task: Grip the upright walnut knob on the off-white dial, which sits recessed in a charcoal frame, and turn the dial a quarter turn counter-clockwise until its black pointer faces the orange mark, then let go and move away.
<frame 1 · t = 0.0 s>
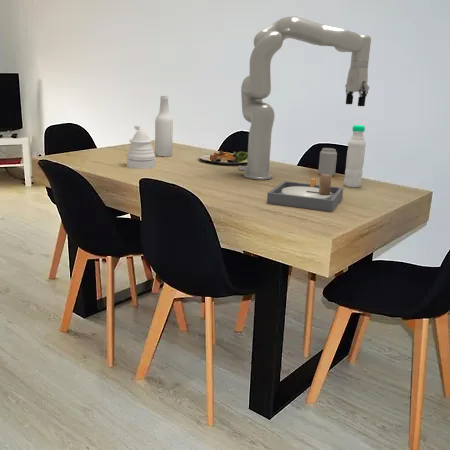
hand: (354, 105, 244), 31 cm above the table, tool pointing down, fingers open, 9 cm apart
alcohol: (163, 156, 280), on the table
water bottle: (352, 186, 229), on the table
dial frame: (305, 200, 201), on the table
can: (326, 175, 250), on the table
plate of food: (227, 161, 273), on the table
honey pot: (141, 166, 251), on the table
dial: (307, 184, 200), point 6 cm above the table, hinge at 0.0°
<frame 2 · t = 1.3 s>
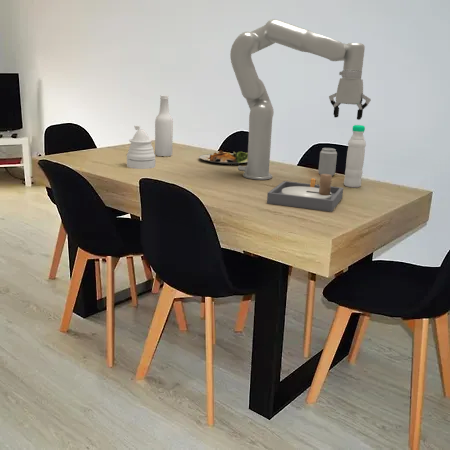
hand: (347, 118, 227), 27 cm above the table, tool pointing down, fingers open, 9 cm apart
nothing on the table moved.
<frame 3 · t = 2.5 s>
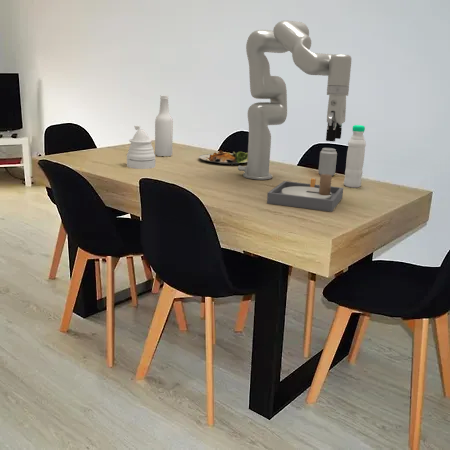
hand: (333, 139, 199), 22 cm above the table, tool pointing down, fingers open, 9 cm apart
nothing on the table moved.
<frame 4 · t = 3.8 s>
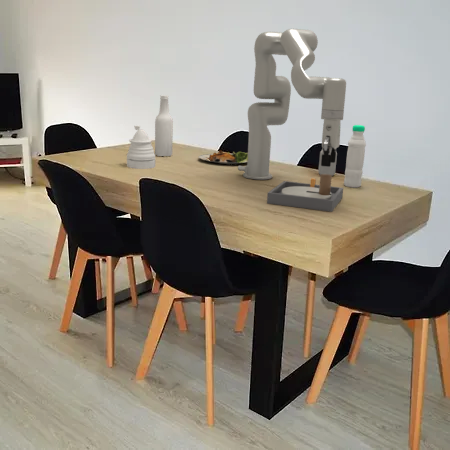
hand: (328, 164, 195), 14 cm above the table, tool pointing down, fingers open, 9 cm apart
nothing on the table moved.
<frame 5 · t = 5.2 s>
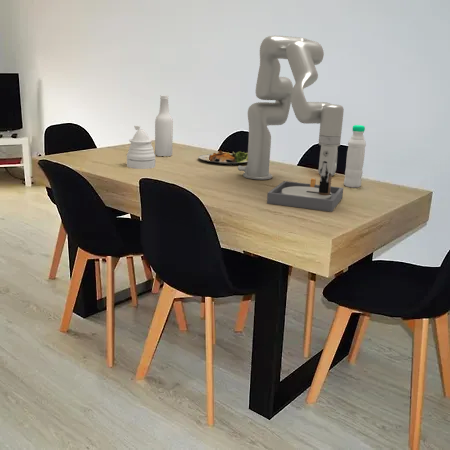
hand: (324, 190, 198), 4 cm above the table, tool pointing down, fingers closed on dial, 4 cm apart
dial: (307, 184, 200), point 6 cm above the table, hinge at 0.0°, touching gripper
everything else where it was.
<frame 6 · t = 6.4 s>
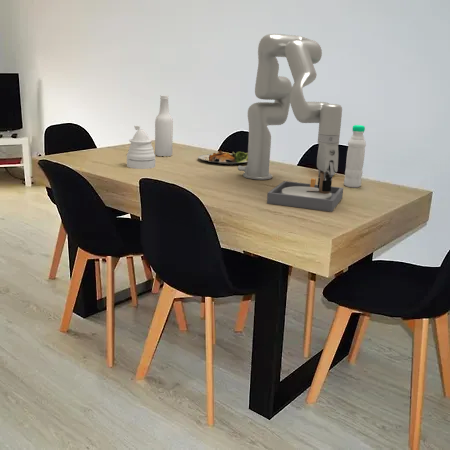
hand: (324, 189, 200), 4 cm above the table, tool pointing down, fingers closed on dial, 4 cm apart
dial: (307, 184, 200), point 6 cm above the table, hinge at 23.5°, touching gripper
everything else where it was.
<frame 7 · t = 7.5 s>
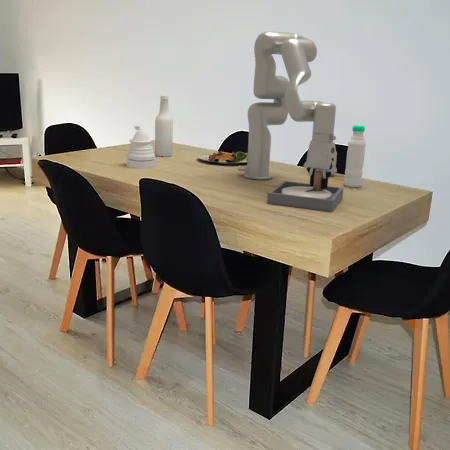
hand: (318, 186, 204), 4 cm above the table, tool pointing down, fingers closed on dial, 4 cm apart
dial: (307, 184, 200), point 6 cm above the table, hinge at 60.8°, touching gripper
everything else where it was.
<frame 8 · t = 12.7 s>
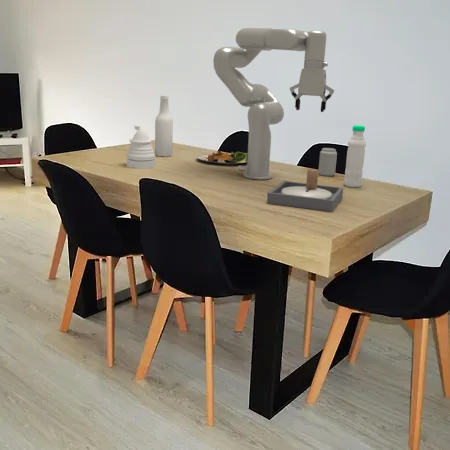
hand: (309, 110, 215), 30 cm above the table, tool pointing down, fingers open, 9 cm apart
dial: (307, 184, 200), point 6 cm above the table, hinge at 86.7°
at the end: dial at +87° (first picture: +0°); the gripper is holding nothing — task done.
